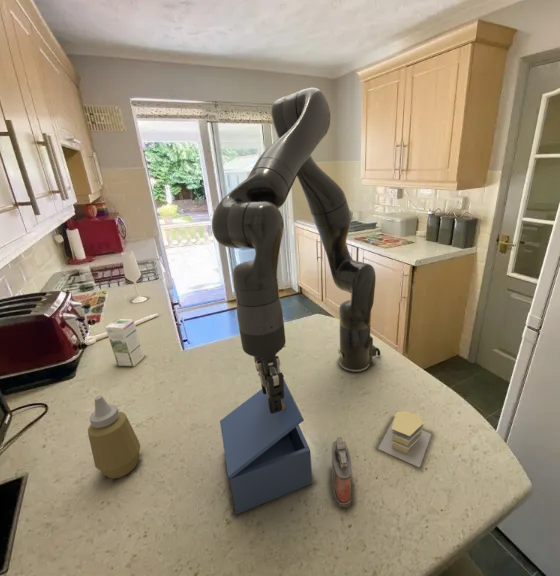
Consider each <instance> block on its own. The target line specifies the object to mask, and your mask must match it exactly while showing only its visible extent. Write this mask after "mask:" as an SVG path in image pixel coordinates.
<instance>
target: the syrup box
mask: <svg viewBox="0 0 560 576" xmlns="http://www.w3.org/2000/svg"><path fill="white" fill-rule="evenodd" d="M134 322H135V320H134V319H129V318H128V319H127V318H126V319H123V318H121V319H120V318H117V319H115V320H113V321H112V322H110V323H109V324H108V325H106V326H105V330H106V331H105V332H107V334H108V336H107V337H108V340H109V343H110V347H111V349H112V352H113V356H114V358H115V362H116V364H117V367H135V366H136V365H137V364H138V363H140V362H141V361H142V360H143V359H144V358H145V355H144V352H143V348H142V345H141V342H140V338H139V334H138V331H137V327H136V325H135V323H134Z"/></svg>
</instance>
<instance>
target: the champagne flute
mask: <svg viewBox="0 0 560 576" xmlns="http://www.w3.org/2000/svg"><path fill="white" fill-rule="evenodd" d="M120 255H121V258H122V265H123V266H122V267H123V273H124V277H125V279H127V280H128V281H129V282H133V286H134V289H135V290H134V291H135V293H136V297H135V298H133V300H131V303H133V304H136V303H137V304H138V303H142V302H143V303H144V302H145V301H147V300H148V297H145V296H141V295H140V291H139V287H138V283H137V282H138V280H139V279H140V277H141V276H142V273H141V270H140V267H139V264H138V262H137V259H136V256H135V254H134V251H124V252H121V254H120Z"/></svg>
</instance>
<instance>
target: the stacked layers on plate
mask: <svg viewBox="0 0 560 576" xmlns="http://www.w3.org/2000/svg"><path fill="white" fill-rule="evenodd" d="M423 427H424V419H423V417H422V416H421V415H420V414H418V413H413V412H409V411H401V410H400V411H397V412H396V413H395V415H394V418H393V420H392V421H391V423H390V425H389V427H388V429H387V431H386V433H385V435H384V437H383V438H382V440H381V443H380V444H379V446H378V448H377V449H378V450H379V451H382V452H384V453H386V454H388V455H391V456H393V457H395V458H396V459H399V460H401V461H403V462H405V463H408V464H410V465H413V466H414V467H416V468H419V469H420V467H421V465H422V461H423V460H424V456H425V455H426V454H425V453H426V451H427V448H428V445H429V442H430V440H431V437H432V433H430V432H428V431H425V430H423Z"/></svg>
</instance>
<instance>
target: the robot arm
mask: <svg viewBox="0 0 560 576" xmlns="http://www.w3.org/2000/svg"><path fill="white" fill-rule="evenodd" d="M271 119H272V120H271V121H272V124H273V127H274V130H275V132H276V136H277V137H278V138H277V139H276V140H275V141H274V142H273V143H272V144H271V145H270V146H268V147H267V148H266V149H265V150H264V151H263V152H262V154H261V155H260V156H259V157H258V159H257V160H256V162H255V164H254V165H253V167H252V169H251V171H249V172H250V173H249V174H248V175H247V177H246V178H245V179H244V180H243V181H242V182H240V183H239V184H238V185H237V186H235V187H234V188H233V189H232V190H231V191H230V192H228V193H227V194H226V195H225V196H224V197H223V198H222V199H221V200H220V201H219V203H218V204H217V205H216V207H215V210H214V212H213V214H212V218H211V231H212V235H213V237H214V239H215V240H216V242H217V243H218V244H220V245H221V246H223V247H225V248H229V249H243V250H244V249H245V250H246V249H247V250H254V259H252V260H247V261H243V262H240V263H238V264H237V265H235V266H234V267H233V270H232V274H231V275H232V282H233V283H232V284H233V290H234V297H235V301H236V317H237V323H238V327H239V328H238V330H239V335H240V341H241V342H240V343H241V347H242V350H243V352H244V353H245V354H247V355H248V356H250V357H253V361H254V365H255V370H256V372H258V373H257V375H258V376H259V378H260V384H261V385H260V386H261V389H262V391H263V394H266V396H267V397H268V404H269V410H270V413H271V414H273V413H276V412H279V411H281V410H282V404H281V399H283V398H284V380H285V378H284V377H285V376H284V374H283V371H281V368H280V367H281V360H280V357H279V355H277V354H278V353H279V352H280V351H282V349H283V348H284V347H285V345H286V341H287V340H286V330H285V322H284V312H283V311H284V310H283V306H282V301H281V297H280V287H279V281H278V280H279V279H278V268H279V260H280V252H281V246H282V242H283V236H284V228H285V226H284V225H285V224H284V218H283V215H282V213H281V211H280V208H282V206H283V205H284V204H285V203H286V201H287V198H288V196H289V194H290V192H291V189H292V187H293V185H294V183H295V181H296V178H297V180H298V183H299V185H300V188H301V191H302V192H303V196H304V197H305V200H306V203H307V206H308V209H309V212H310V215H311V218H312V220H313V223H314V226H315V228H316V230H317V231H318V232H317V233H318V235H319V237H320V240H321V243H322V246H323V248H324V252H325V254H326V258H327V262H328V266H329V269H330V273H331V277H332V280H333V283H334V284H335V286H336V288H338V289H340V290H341V291H344V292H346V293H349V294H351V299H348V300H345V301H343V302H342V303H340V305H339V310H338V311H339V312H338V313H339V348H338V349H337V351H338V352H337V353H338V355H339V366H340V367H341V368H342V369H343V370H344V371H347V372H351V373H360V372H363V371H367V369H369V367H370V366H372V365H373V357H377V356H378V357H380V356H381V349H379V347H376V346H375V345H374V337H372V335H371V322H372V320H371V319H372V309H373V306H374V303H375V302H374V301H375V292H376V291H375V290H376V280H377V279H376V277H377V275H376V271H375V268H374V266H372V264H370V263H367V262H364V261H363V262H362V261H359V260H355V259H353V258H352V256H351V253H350V252H349V248H348V244H347V240H348V235H349V232H350V228H351V225H352V214H351V210H350V207H349V203H348V201H347V198H346V194H345V192H344V190H343V189H342V187H341V186H340V184H338V183H337V182H336V180H335V179H333V178H332V177H331V176H330V175H329V174H327V173H326V172H325V171H324V170H323V168H321V167H320V166H319V165H318V164H317V163H316V161H315V160H314V158H313V157H312V154H313V153H314V151H315V150H316V149H317V147H318V146H319V145H320V144H321V142H322V141H323V139H324V138H326V136H327V134H328V133H329V130H330V127H331V123H332V115H331V109H330V104H329V102H328V99H327V97H326V96H325V93H324V92H323V91H322V90H320V89H319V88H317V87H307V88H303V89H301V90H298V91H295V92H293V93H290V94H288V95H285V96H283V97H280V98H278V99H276V100H275V101H273V103H272V105H271ZM283 378H284V379H283Z"/></svg>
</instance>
